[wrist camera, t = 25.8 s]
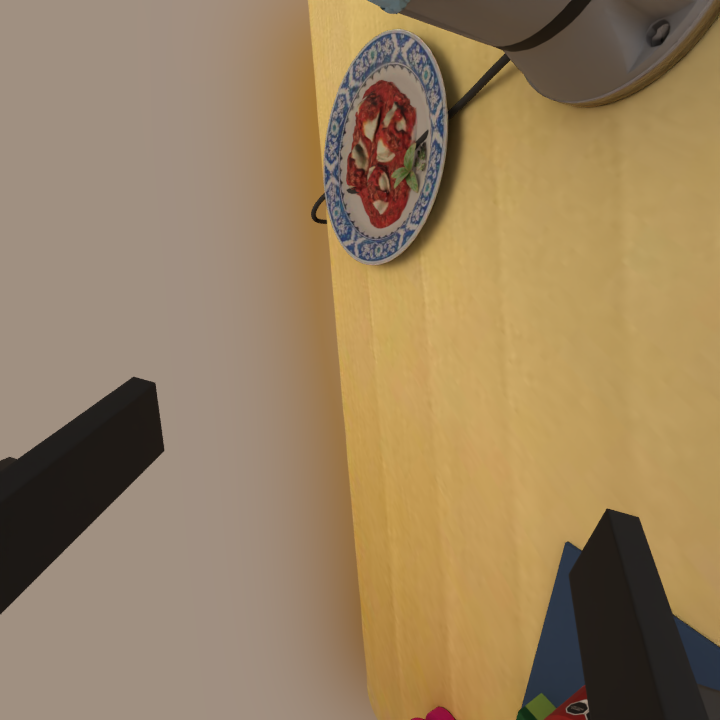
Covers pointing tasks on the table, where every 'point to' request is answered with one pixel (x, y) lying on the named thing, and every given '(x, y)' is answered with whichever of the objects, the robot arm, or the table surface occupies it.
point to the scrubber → (536, 709)
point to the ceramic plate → (385, 147)
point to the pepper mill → (437, 715)
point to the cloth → (562, 653)
